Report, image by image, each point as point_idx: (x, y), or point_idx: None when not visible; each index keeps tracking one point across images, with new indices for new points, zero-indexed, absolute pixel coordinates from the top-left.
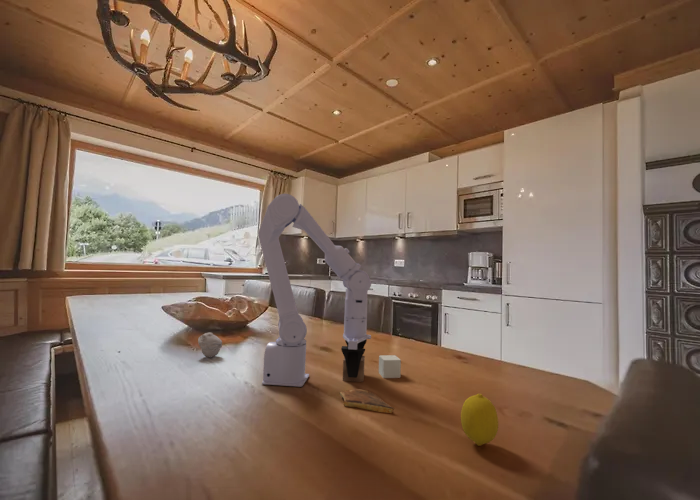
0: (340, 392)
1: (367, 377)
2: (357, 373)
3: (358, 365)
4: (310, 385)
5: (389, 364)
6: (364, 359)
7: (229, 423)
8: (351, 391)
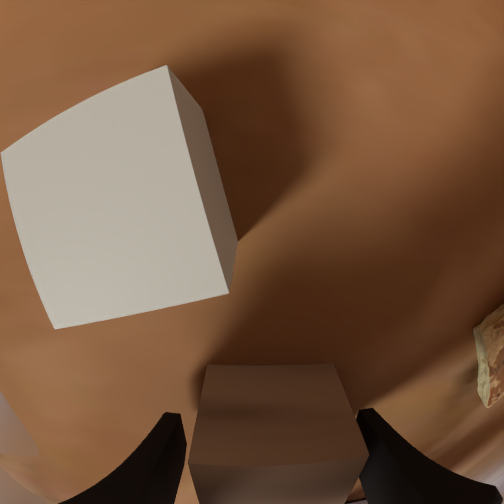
0: (490, 406)
1: (246, 345)
2: (384, 421)
3: (416, 451)
4: None
5: (214, 208)
6: (208, 443)
7: (494, 476)
8: (501, 379)
